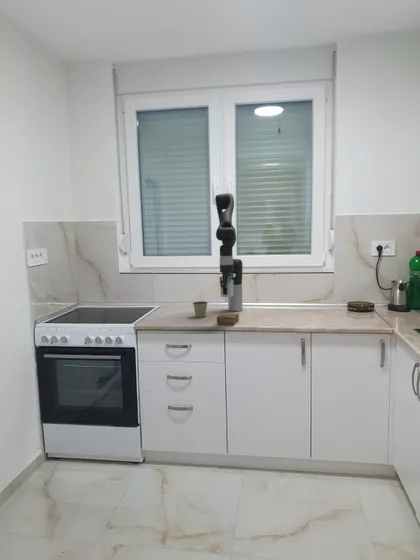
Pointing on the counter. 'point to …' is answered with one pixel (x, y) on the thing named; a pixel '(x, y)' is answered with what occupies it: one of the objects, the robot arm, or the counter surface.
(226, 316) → the walnut box
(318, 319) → the counter surface
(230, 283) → the canister
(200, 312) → the flower pot
